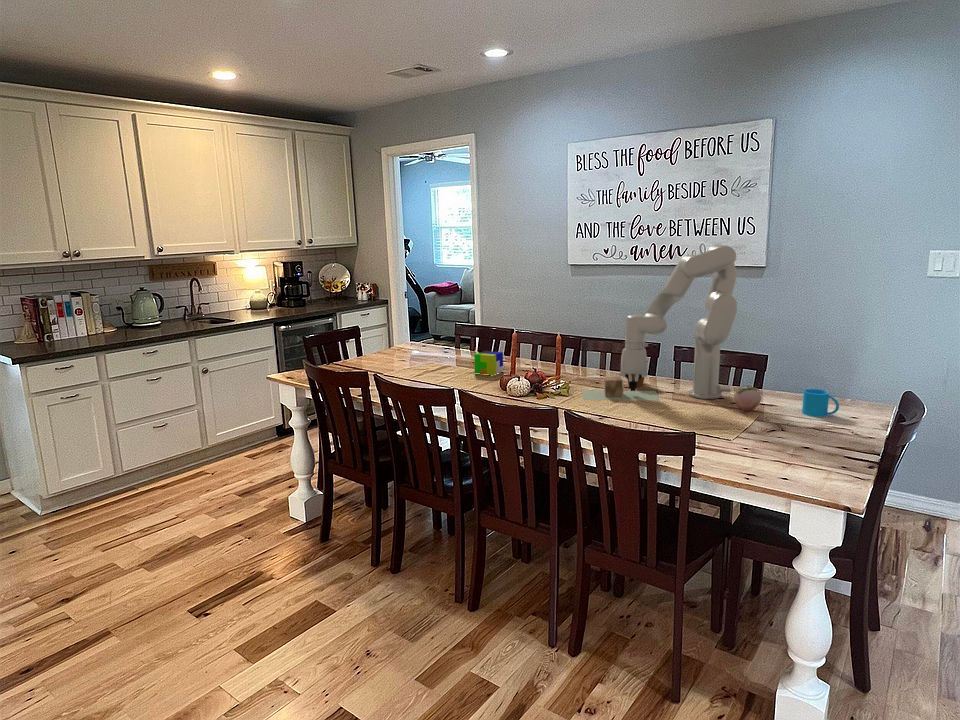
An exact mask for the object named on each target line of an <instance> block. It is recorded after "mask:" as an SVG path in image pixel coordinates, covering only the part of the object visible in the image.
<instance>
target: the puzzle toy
mask: <svg viewBox="0 0 960 720" xmlns="http://www.w3.org/2000/svg"><path fill="white" fill-rule="evenodd" d="M473 355H474V359H473V360H474V374H475V373H480V374H489V375H494V374H497V373H499V372H502V371H503V372H504V352H503V351H494V350H492V351H491V350H483V351H481V352H477V353H474V354H473Z"/></svg>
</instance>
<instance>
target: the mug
mask: <svg viewBox="0 0 960 720" xmlns="http://www.w3.org/2000/svg"><path fill="white" fill-rule="evenodd" d="M802 396H803V397H802V406H801V407H802V408H801V413H802V414H803V415H804V416H810V417H817V418H818V417H819V418H822V417H826V416H829V415H830V416H831V415H833V414H836V413H837V412H838V411H839V409H840V403H839V402H838V400H837V399H836V398H835V397H833V396H831V395H830V392H829V391H827V390H824V389H818V388H817V389H816V388H808V389H804V390H803V394H802ZM830 399H831V400H832V401H833V402H834V404H835V409H834V410H832V411H830V412H828V411H829V402H830V401H829V400H830Z"/></svg>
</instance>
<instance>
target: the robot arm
mask: <svg viewBox="0 0 960 720" xmlns="http://www.w3.org/2000/svg"><path fill="white" fill-rule="evenodd" d="M736 260H737V253H736V251H735V249H734V248H733V247H732V246H729V245H727V244H726V245H725V244H724V245H723V244H714V245H711V246H709V247H708V248H707V249H706V251H705V252H702V253H699V254H688V255H684V256H683V257H681V258H680V259H679V261H678V263H677V264H676V265H675V267H674V269H673V272H672V273H671V274H670V276H669V278H668V279H667V281H666V283H665V285H664V286H663V288H662V289H661V290H660V292H659V293H658V294H657V295H656V296H655V297H654V299H653V301H652V302H651V303H650V305H649V306H648V308H647V310H646V312H645V313H644V315H641V314H629V315H627V317H626V319H625V336H624V337H625V339H624V340H625V341H624V348H622V352H621V358H620V371H619V377H624V378H626V379H627V381H628V380H629V385H628V389H629V391H636V390H637V388H638V386H637V381H638V380H639V379H640V378H641V377H644V378H646V377H647V376H648V373H647V371H648V368H647V367H648V362H647V361H648V359H647V358H648V357H647V350H646V347H649V343H648V342H646V340H645V338H646V335H647V334H648V335H654V336H655V335H661V334H663V333H665V331H666V330H667V326H668V323H667V321H666V319H665V316H666V314H667V313H668V312H669V310H670V309H671V308H672V307H673V306H674V305H676V304H677V303H678V302H680V301H681V300H682V299H684V297H685V295H686V294H687V292H688V290H689V288H690V287H691V286H692V284H693V282H694V281H695V279H697V278H699V279H700V278H703V277H705V276H709V275H711V274H712V279H711V280H712V281H711V284H710V287H709V289H708V292H707V295H706V299H705V301H704V308H705V310H706V312H708V313H709V314H708V316H707V317H702V318H700V319H699V320H697V322H696V324H695V326H694V328H693V338H694V339H693V340H694V358H693V359H694V361H693V381H692V383H693V385H692V389H691V390H689V391H688V395H689V396H690V397H692V398H694V399H695V398H696V399H703V400H715V399H719V398H721V397H722V396H723V395H722V394H723V392H725V393H731V389H732V388H731V387H729V386H723V385H720V384H719V377H720V376H719V375H720V358H721V345H722V344H724V343H725V342H726V341H727V340H728V338H729V336H730V333H731V330H732V327H733V324H734V321H735V318H736V316H737V315H736V314H737V311H738V302H737V300H736V298H735V297H734V296H733V292H734V290H735V285H736V281H737V269H736V265H735V262H736ZM631 374H635V378H634V380H632V376H631Z"/></svg>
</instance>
